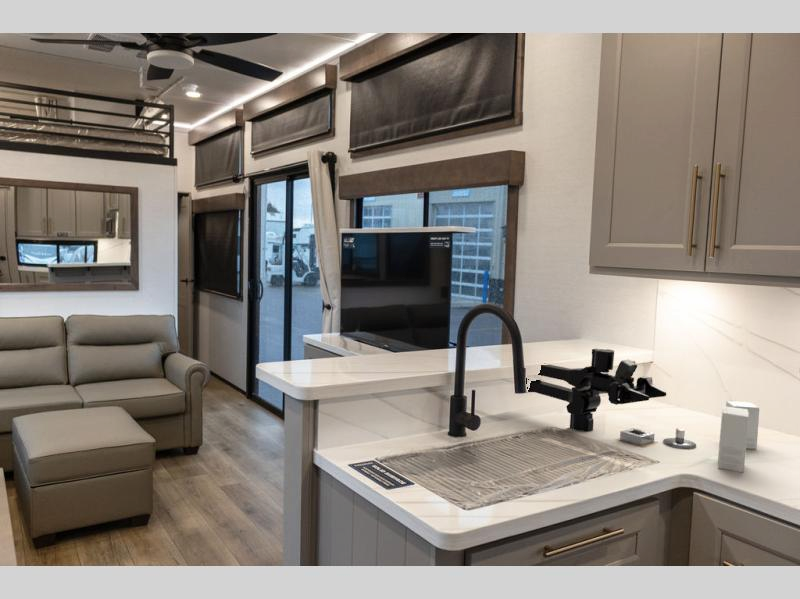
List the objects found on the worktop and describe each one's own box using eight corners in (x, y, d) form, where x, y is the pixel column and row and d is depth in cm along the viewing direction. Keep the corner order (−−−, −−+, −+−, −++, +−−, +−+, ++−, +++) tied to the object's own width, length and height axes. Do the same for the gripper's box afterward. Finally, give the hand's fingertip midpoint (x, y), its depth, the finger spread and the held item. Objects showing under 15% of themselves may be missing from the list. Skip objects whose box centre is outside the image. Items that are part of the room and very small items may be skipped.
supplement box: (757, 449, 189) (760, 407, 188) (730, 447, 190) (733, 406, 189) (749, 442, 196) (751, 402, 195) (723, 440, 197) (725, 400, 196)
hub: (657, 446, 189) (658, 428, 189) (672, 441, 195) (673, 423, 194) (686, 454, 182) (687, 435, 182) (701, 448, 188) (702, 430, 187)
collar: (619, 439, 191) (620, 431, 191) (633, 436, 195) (633, 427, 195) (641, 445, 186) (641, 437, 185) (654, 442, 190) (654, 433, 190)
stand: (614, 442, 191) (615, 429, 191) (631, 438, 197) (632, 424, 197) (642, 450, 184) (642, 436, 184) (658, 445, 190) (659, 431, 189)
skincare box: (718, 460, 178) (721, 405, 177) (744, 464, 175) (748, 408, 174) (717, 468, 170) (721, 412, 169) (745, 473, 167) (749, 415, 166)
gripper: (593, 361, 187) (642, 372, 175) (629, 356, 199) (676, 365, 187) (590, 398, 189) (638, 411, 176) (626, 390, 200) (673, 402, 188)
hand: (657, 396), depth 182 cm, fingers open, 9 cm apart
